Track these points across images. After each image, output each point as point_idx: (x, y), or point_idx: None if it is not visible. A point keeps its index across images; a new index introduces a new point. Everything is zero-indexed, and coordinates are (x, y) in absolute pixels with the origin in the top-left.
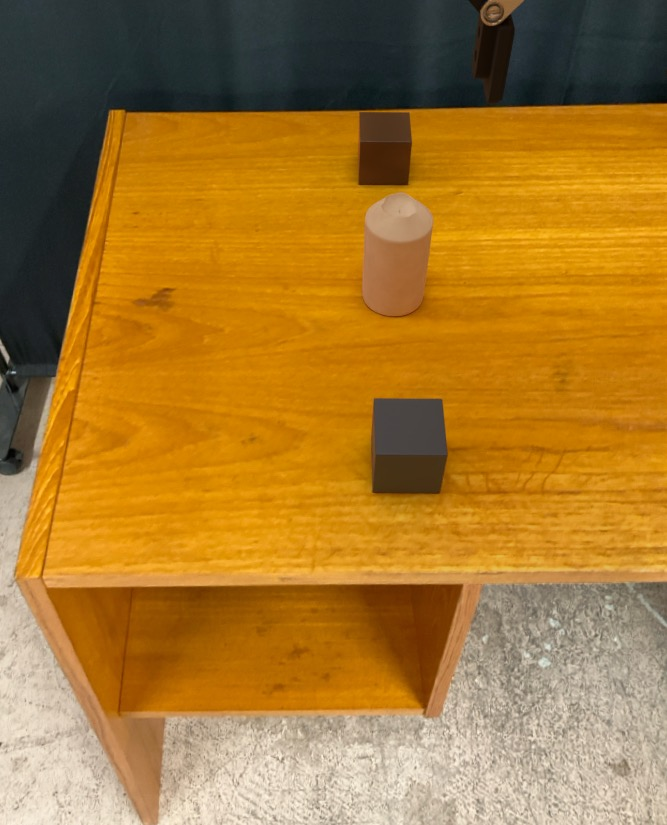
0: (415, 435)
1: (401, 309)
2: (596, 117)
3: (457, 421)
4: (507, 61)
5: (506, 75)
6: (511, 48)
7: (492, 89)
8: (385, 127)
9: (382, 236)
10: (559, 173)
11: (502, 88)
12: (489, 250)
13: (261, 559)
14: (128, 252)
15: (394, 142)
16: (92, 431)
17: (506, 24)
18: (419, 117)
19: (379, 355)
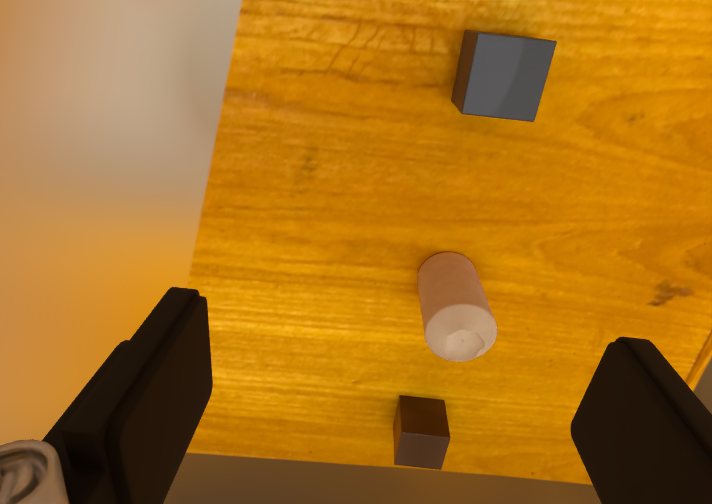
0: (505, 64)
1: (446, 255)
2: (213, 448)
3: (423, 120)
4: (674, 418)
5: (647, 387)
6: (692, 449)
7: (663, 360)
8: (421, 450)
9: (485, 313)
10: (259, 393)
11: (635, 362)
12: (342, 317)
13: None
14: (677, 349)
15: (417, 433)
16: None
17: None
18: (370, 463)
19: (477, 208)
